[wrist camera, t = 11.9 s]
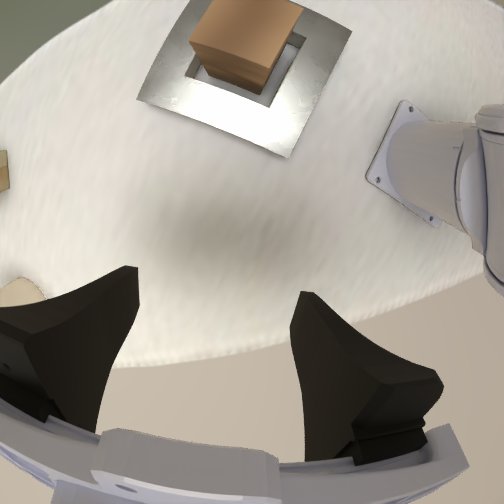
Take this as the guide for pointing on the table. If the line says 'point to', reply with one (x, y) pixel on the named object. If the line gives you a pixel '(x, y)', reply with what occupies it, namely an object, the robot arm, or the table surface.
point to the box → (3, 171)
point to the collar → (239, 108)
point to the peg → (244, 39)
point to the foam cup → (20, 293)
